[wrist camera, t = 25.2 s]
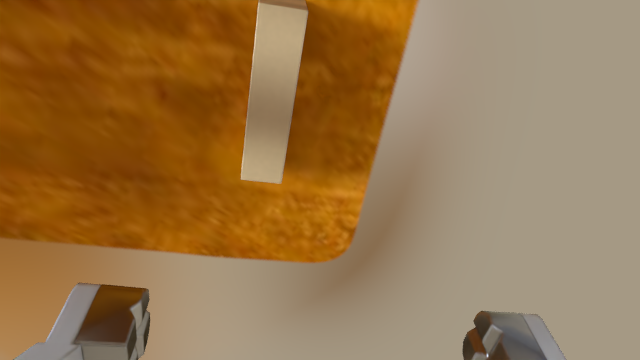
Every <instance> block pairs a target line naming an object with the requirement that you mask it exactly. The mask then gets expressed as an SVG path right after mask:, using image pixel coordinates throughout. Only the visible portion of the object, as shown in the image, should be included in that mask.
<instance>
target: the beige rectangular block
mask: <svg viewBox="0 0 640 360" xmlns="http://www.w3.org/2000/svg"><path fill="white" fill-rule="evenodd" d="M307 17H308V8H307V5H306V1H305V0H259V2H258V12H257V22H256V32H255V41H254V51H253V61H252V71H251V81H250V91H249V101H248V111H247V121H246V131H245V140H244V150H243V160H242V170H241V180H250V181H260V182H269V183H279V184H281V183H282V177H283V170H284V164H285V157H286V151H287V145H288V138H289V132H290V125H291V119H292V113H293V106H294V100H295V94H296V87H297V81H298V74H299V68H300V62H301V55H302V49H303V42H304V36H305V30H306V23H307Z"/></svg>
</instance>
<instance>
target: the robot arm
mask: <svg viewBox="0 0 640 360" xmlns="http://www.w3.org/2000/svg"><path fill="white" fill-rule="evenodd" d="M148 302H149V290H148V289H146V288H135V287H124V286H113V285H100V284H99V285H98V284H88V283H78V284H77V285H76V286H75V287H74V288H73V290H72V291H71V293H70V295H69V297H68V299H67V301H66V303H65V305H64V307H63V309H62V311H61V313H60V315H59V317H58V318H57V321H56V322H55V324H54V326H53V328H52V330H51V332H50V334H49V336H48V338H47V340H46V342H45V343H36V344H35V345H33V346H32V347H30V348H29V349H28V350H26V351H25V352H23V353H22V354H20V355H19V356H18V357H16V358H15V359H13V360H138V359H139V358H140V357H141V356H142V355H143V354H144V352H145V348H146V344H147V340H148V334H149V327H150V313H149V312H148V311H147V310H146V309H147V306H148ZM474 324H475V326H476V327H475V328H474V329H472V330H470V331H469V332H467V334H466V337H465V339H464V341H463V357H464V360H566V358H565V356H564V355H563V353H562V351H561V350H560V348H559V346H558V345H557V343H556V341H555V340H554V338H553V336H552V335H551V333H550V331H549V330H548V328H547V326H546V325H545V323H544V321H543V320H542V318H541V317H540V316H538V315H537V314H523V313H509V312H508V313H507V312H489V311H481V312H479V313H478V314H477V315H476V317H475V319H474Z"/></svg>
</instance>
